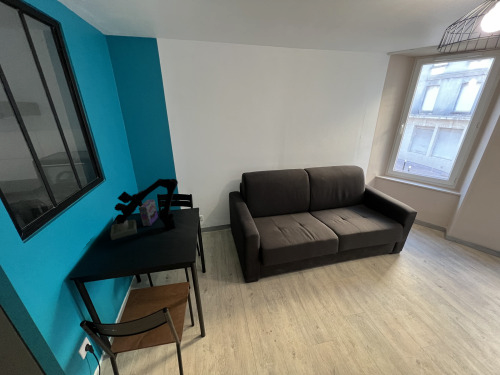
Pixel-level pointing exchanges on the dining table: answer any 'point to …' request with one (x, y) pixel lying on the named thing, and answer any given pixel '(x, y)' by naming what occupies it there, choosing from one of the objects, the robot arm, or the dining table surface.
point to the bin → (118, 234)
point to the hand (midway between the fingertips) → (119, 221)
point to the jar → (123, 226)
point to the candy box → (148, 212)
